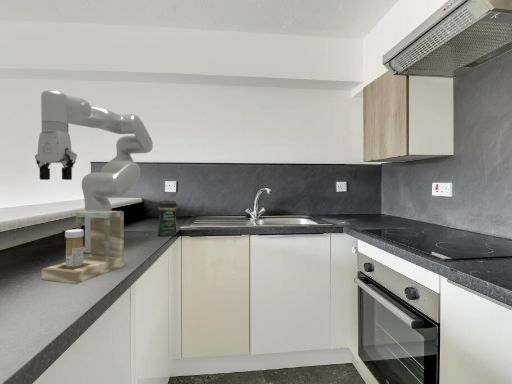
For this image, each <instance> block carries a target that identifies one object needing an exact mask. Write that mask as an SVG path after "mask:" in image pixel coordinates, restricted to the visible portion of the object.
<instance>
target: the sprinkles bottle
mask: <svg viewBox="0 0 512 384" xmlns="http://www.w3.org/2000/svg"><path fill="white" fill-rule="evenodd" d="M64 237H65V262H66V269H69V270H75V269H78V268H81V267H83V257H84V252H83V247H84V237H85V230H84V229H82V228H81V229H76V228H75V229H67V230H65V231H64Z"/></svg>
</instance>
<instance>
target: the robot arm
mask: <svg viewBox="0 0 512 384" xmlns="http://www.w3.org/2000/svg"><path fill="white" fill-rule="evenodd" d="M40 95H41V96H40V98H41V99H40V100H41V103H40V106H41V108H40V109H41V113H40V114H41V117H40V118H41V119H40V120H41V132H40V133H39V136H38V137H39V138H38V143H37V144H38V145H37V153H36V154H35V155H34V158H35V161H36V164H37V167H38V168H39V180H42V181H43V180H47V181H48V180H49V181H50V179H51V168H50V166H51V164H52V163H53V164H58V163H59V164H60V163H61V165H62V166H63V167H61V180H65V181H66V180H68V181H69V180H70V181H71V180H72V178H73V168H74V165H75V163H76V160H77V157H78V154H77V153H75V152H73V151H72V142H71V137H70V133H69V125H76V126H82V127H88V128H92V129H100V130H103V131H106V132H108V133H109V132H110V133H113V134H118V135H124V136H121V137H120V138H119V139H118V140H116V145H115V146H116V148H115V149H116V155H115V157H113V158H112V159H111V160H110V161H108V162H107V163H106V164H104V165H103V166H102V168H101V169H100V172H91V173H87V174H86V175H85V176H83V178H82V180H81V190H82V193H83V201H84V211H91V210H101V211H112V204H111V202H110V199H109V198H108V197H119V196H123V195H125V194H126V193H127V192H128V191H129V190H130V189H132V187H133V186H134V185H135V184H137V182H138V180H139V179H140V176H141V168H140V166H139V164H138V163H137V162H136V161H134V159H133V157H132V156H131V155H132V154H148V153H150V152H151V151H152V150H153V147H154V146H153V145H154V144H153V140H152V138H151V135H150V134H149V132H148V131H149V130H148V129H147V127H146V126H145V124H144V122H143V121H142V120H141V118H140V117H139V116H138V115H136V114H119V113H116V112H114V111H111V110H109V109H107V108H102V107H96V106H95V107H92V106H91V104H90V103H89V102H88V101H87V100H86V99H84V98H82V97H76V96H72V95H67V94H65V93H64V92H61V91H57V90H49V89H48V90H43V91H42V93H41V94H40ZM133 134H134V135H133ZM83 253H84V254H85V253H87V254H89V253H90V254H91V241H90V217H84V245H83Z"/></svg>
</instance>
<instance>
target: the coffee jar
mask: <svg viewBox="0 0 512 384" xmlns="http://www.w3.org/2000/svg"><path fill="white" fill-rule="evenodd" d="M177 207H178V206H177V202H176V200H160V201H159V202H158V207H157V210H158V213H159V218H158V227H157V228H158V229H157V235H158V236H159V235H160V237H172V236H173V237H174V236H176V235H177V233H178V230H177V221H176V220H177V217H176V213H177V210H178V208H177Z"/></svg>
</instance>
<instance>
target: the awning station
mask: <svg viewBox="0 0 512 384" xmlns="http://www.w3.org/2000/svg"><path fill="white" fill-rule="evenodd" d="M124 215H125V214H124V211H123V210H111V211H101V210H91V211H85V210H84V211H83V210H80V211H75V229H82V218H85V217H90V241H91V253H90V255H88V256H87V255H86V256H83V267H81V268H78V269H75V270H69V269H66V261H65V262H62V263H59V264H54V265H51V266H47V267H44V268H42V269H41V280H42V281H51V282H58V283H67V284H75V285H76V284H79V283H82V282H84V281H88V280H91V279H93V278H95V277H98V276H100V275H103V274H106V273H109V272H112V271H114V270H116V269H119V268H123V267H124V266H125V265H124V264H125V259H124V258H125V254H124V253H125V248H124V247H125V246H124V245H125V244H124V243H125V242H124V239H125V238H124V237H125V234H124V233H125V232H124V229H125V228H124V224H125V223H124V222H125V221H124V220H125V219H124V218H125V216H124Z"/></svg>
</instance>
